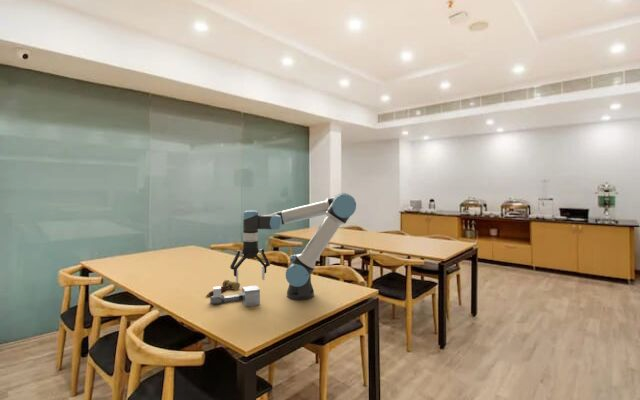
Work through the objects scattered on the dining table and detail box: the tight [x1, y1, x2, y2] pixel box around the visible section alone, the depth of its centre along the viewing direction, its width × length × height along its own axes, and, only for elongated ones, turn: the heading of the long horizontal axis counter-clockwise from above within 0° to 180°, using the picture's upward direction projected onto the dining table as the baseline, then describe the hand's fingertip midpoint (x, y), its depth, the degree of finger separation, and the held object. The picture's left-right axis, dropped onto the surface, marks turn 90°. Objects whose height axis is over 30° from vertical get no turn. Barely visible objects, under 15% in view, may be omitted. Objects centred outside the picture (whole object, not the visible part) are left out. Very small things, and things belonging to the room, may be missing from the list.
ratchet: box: [209, 285, 242, 306], centre depth 172 cm, size 22×7×8 cm, turn 114°
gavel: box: [205, 279, 241, 298], centre depth 186 cm, size 21×5×10 cm
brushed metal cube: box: [241, 285, 261, 308], centre depth 168 cm, size 8×8×8 cm
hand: (250, 280), depth 168 cm, fingers open, 13 cm apart
